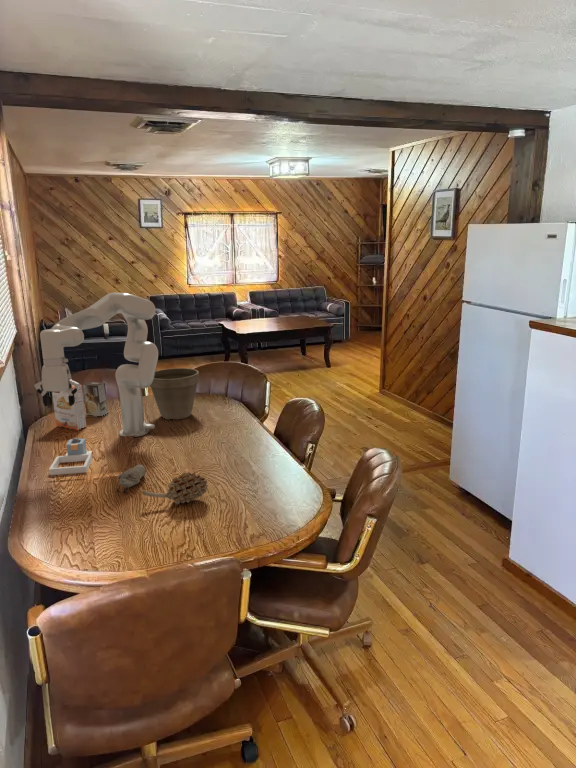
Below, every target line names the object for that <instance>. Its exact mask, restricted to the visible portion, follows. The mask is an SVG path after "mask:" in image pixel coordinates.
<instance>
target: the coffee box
mask: <svg viewBox="0 0 576 768" xmlns="http://www.w3.org/2000/svg"><path fill="white" fill-rule="evenodd" d="M106 389H107V388H106V383H105V382H96V381H95V382H94V381H89V382H86V383H84V384H82V391H83V400H84V408H85V416H87V415H94V416H93V417H97V416H102V417H104V416H106V415H108V414H109V408H108V399H107V398H108V397H107V390H106ZM107 413H108V414H107ZM105 414H106V415H105ZM103 415H104V416H103Z"/></svg>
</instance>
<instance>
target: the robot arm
mask: <svg viewBox="0 0 576 768" xmlns="http://www.w3.org/2000/svg"><path fill="white" fill-rule="evenodd" d="M156 310H157V309H156V306H155V304H154V303H153V301H151V300H150V299H146V298H143V297H140V296H137V295H135V294H131V293H126V292H109V293H107V294H106V295H103V297H101V298H100V299H99V300H97V301H96V302H94V303H93V304H91V305H90V306H89V307H87V308H85V309H82V310H80V311H78V312H75V313H73V314H70V315H68V316H66V317H64V318H62V319H61V320H59V321H57V322H56V323H55V324H54V325H53V326H52V327H51V328H49V329H43V330H41V331H40V334H39V335H40V336H39V337H40V345H41V351H42V352H41V353H42V359H43V360H42V361H43V366H42V368H41V380H40V381H39V382H37V383H35V384H33V386H34V388H35V390H36V391H37V393H38V394H40V396H41V397H42V401H43V402H42V403H43V404H44V407H48V406H49V405H50V403H51V402H50V397H49V394H48V393H49V392H50V393H52V392H56V391H66V392H67V393H68V394H69V396H68V398H69V406H72V405H73V404H74V403H75V397H74V394H75V393H76V392H77V391H78V388H79V386H80V385H81V383H79V382H77V381H75V380H73V379H72V375H71V371H70V367H69V365H68V364H67V363H68V362H69V359H68V358H66V356H65V352H64V351H65V349H64V348H65V347H66V348H67V347H78V346H79V345H81V344H82V343H83V341H84V339H85V335H84V332H83V331H84V330H89V329H94V328H98V327H101V326H103V325H104V324H105V323H106V322H108V321H109V320H110V319H112V318H113V317H114V316H115V315H117V314H122V316H123V318H124V319H125V322H126V324H127V334H126V338H125V339H126V340H125V344H124V348H123V356H124V359H125V360H127V361H129V362H134V363H138V365H137V364H130V363H129V364H128V363H126V364H120V365H119V366H118V367H117V369H116V371H115V382H116V384H117V388H118V392H119V393H118V394H119V403H120V413H121V422H122V423H121V424H122V429H121V430H119V435H120V436H121V437H132V436H133V438H137V437H138V438H139V437H142V436H145V435H148V434H149V430H150V429H151V430H152V429H153V430H155V429H156V427H155V426H156V425H155V424H153V423H147V422H146V420H145V418H144V416H145V415H144V405H143V404H144V403H143V393H142V390H141V389H147V388H149V387H150V385H151V384H152V382H153V379H154V375H155V371H157V365H158V361H159V360H158V359H159V349H158V347H157V346H156V344H155V343H153V342H151V341H148V340H147V339H148V333H149V331H148V325H147V323H146V320H148V321H149V320H151V319H152V318H154V316H155V314H156ZM73 385H74V386H75V388H74V390H73V389H72V386H73ZM41 386H42V387H41Z"/></svg>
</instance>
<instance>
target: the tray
mask: <svg viewBox="0 0 576 768" xmlns="http://www.w3.org/2000/svg"><path fill="white" fill-rule="evenodd" d="M92 461H93V453H91V454H82V455H68V456H65V455H57V456H56V457H55V458H54V460H53V462H52V464H51V465H50V467H49V468H48V473H49V476H56V475H58V476H59V475H60V476H61V475H69V474H70V476H71V477H76V476H75V475H76V474H82V475H84V476H88V473H87V472H88V469H89V467H90V465H91V463H92ZM71 462H72V463H74V462H84V464H83V465H76V466H63V467H61V466H60V467H59V465H60V463H71ZM84 473H87V474H84ZM71 474H73V475H71Z"/></svg>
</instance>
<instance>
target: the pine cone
mask: <svg viewBox="0 0 576 768" xmlns="http://www.w3.org/2000/svg"><path fill="white" fill-rule="evenodd" d="M208 486H209V485H208V481H207V479H206V477H204V476H200V474H196V472H195V473H191V472H190V471H189V472H183V473H182V474H181V475H178V476H177V477H174V478H173V479H171V482H169V483H168V489H167V492H164V493H161V492H157V493H156V492H151V491H148V490H143V489H139V491H140V492H141V494H142V495H143V496H146V497H153V498H165V499H167V498H168V500H169V499H170V500H172V501H173V502H174V504H176V505H179V504H185V503H188V504H189V503H190V501H191V502H194V500H196V499H198V498H200V497H202V496H203V495H204V494H206V493H207V489H208Z"/></svg>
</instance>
